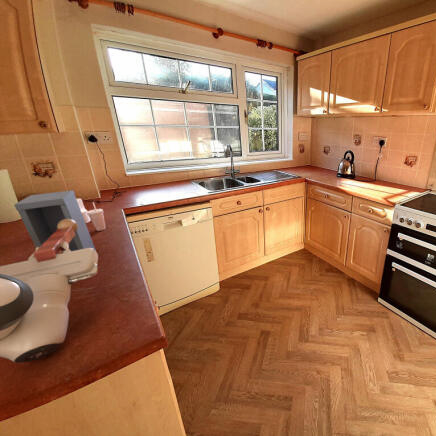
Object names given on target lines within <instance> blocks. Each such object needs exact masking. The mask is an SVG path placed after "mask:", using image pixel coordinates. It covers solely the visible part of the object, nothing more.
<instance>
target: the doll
mask: <svg viewBox="0 0 436 436" xmlns="http://www.w3.org/2000/svg"><path fill="white" fill-rule="evenodd" d="M57 228H58V229H57V230H56V231H55V232H54V233H53V234H52V235H51V236H50V237H49V238H48V239H47V240H46V242H45V243H44V244H43V245H42V246H41V247H40V248H39V249H38V250H37V251H36V250H35V251H36V252H35V251H34V252H35V253H34V252H33V253H34V255H35V257H36V259H37V261H38V262H42V261H47V260H51V259H56V255H57V254H61V253H62V252H63V251H62V250H61V249H60V248H59V245H60V243H62V242H67V243H68V244H69V242H70V241H71V240H72V238H73V237H74V236H75V233H74V232H75V231H76V230H77V228H78V224H77V222H76V221H74V220H72V219H63V220H61V221H60V222H59V223H58V225H57Z"/></svg>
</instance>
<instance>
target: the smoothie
mask: <svg viewBox="0 0 436 436" xmlns="http://www.w3.org/2000/svg"><path fill="white" fill-rule="evenodd" d="M91 203H92V205H93V208H94V209H90V210H87V215H89V217H90V220H91V221H90V222H91V223H92V224H93V226H94V228H95V230H96V231H97V232H99V231H103V230H104V231H105V230H106V228H107V227H106V223H105V222H106V221H105V217H104V210H103V208H97V207H96V204H95V202H94V201H93V202H91Z"/></svg>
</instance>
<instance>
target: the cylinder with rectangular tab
mask: <svg viewBox="0 0 436 436" xmlns="http://www.w3.org/2000/svg"><path fill="white" fill-rule="evenodd" d="M82 199H83V198H76V200H77V202H78V205H79V208H80V210H81V213H82V216H83V218H84V221H85V223H86V224H88V223H90V222H92V221H91V219H90V217H89V215H87V212H88V209H86V208H85V205H84V202H83V200H82Z"/></svg>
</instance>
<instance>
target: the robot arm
mask: <svg viewBox="0 0 436 436" xmlns="http://www.w3.org/2000/svg"><path fill="white" fill-rule="evenodd" d="M39 248H40V247H35V251H34V252H33V253H32V254H31V255H30V256H29V257H28V259H27V260H24V261H19V262H15V263H10V264H9V263H8V264H5V265H1V266H0V358H4V359H7V360H8V361H9V360H10V361H11V362H13V363H16V364H21V363H23V364H24V363H30V362H34V361H37V360H40V359H43V358H45V357H47V356H49V355H51V354H52V353H54V352H55V351H57V350H58V349H59V348H60V347H61V346H62V345H63V343H64V341H65V339H66V337H67V332H68V327H69V319H70V311H69V307H68V306H69V303H70V301H71V292H72V291H71V290H72V284H76V283H80V282H83V281H87V280H91V279H92V278H93V277H95V276H96V275H97V274H98V271H99V265H98V262H99V254H98V252H97V250H96V249H95V250H96V251H95V250H94V249H92V248H86V249H81V250H76V251H70V249H69V244H68V243H67V242H62V243H60V245H59V248H60V249H61V250H62V251H63V250H66V251H63V253H62V254H57V255H56V259H51V260H47V261H42V262H38V261H37V259H36V257H35V255H34V253H35V252H36V251H37V250H38V249H39Z"/></svg>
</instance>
